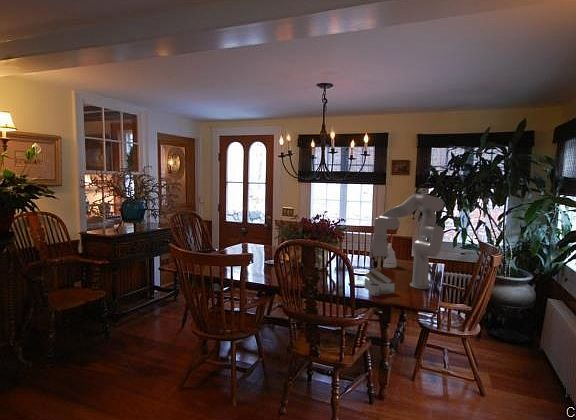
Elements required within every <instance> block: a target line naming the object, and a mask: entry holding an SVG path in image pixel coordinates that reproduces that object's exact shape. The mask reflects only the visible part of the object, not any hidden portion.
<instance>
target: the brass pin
mask: <svg viewBox="0 0 576 420" xmlns="http://www.w3.org/2000/svg"><path fill="white" fill-rule="evenodd" d="M381 258H382V256H377V268H375V267H374V269H375V271H379V272H381V270H382V268H381Z"/></svg>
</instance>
